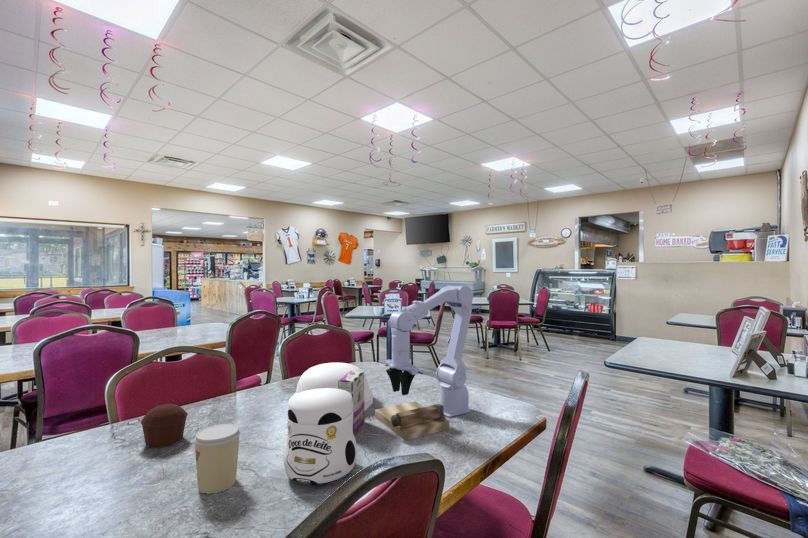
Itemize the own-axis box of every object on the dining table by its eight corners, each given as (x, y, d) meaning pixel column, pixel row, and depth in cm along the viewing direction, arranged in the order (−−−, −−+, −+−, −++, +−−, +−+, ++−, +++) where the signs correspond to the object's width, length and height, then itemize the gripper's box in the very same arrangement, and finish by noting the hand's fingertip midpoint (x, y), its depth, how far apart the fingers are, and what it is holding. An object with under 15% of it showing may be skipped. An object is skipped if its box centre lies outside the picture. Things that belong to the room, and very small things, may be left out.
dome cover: (390, 398, 141) (390, 362, 141) (338, 426, 115) (338, 382, 115) (329, 385, 157) (329, 353, 158) (271, 407, 132) (271, 368, 132)
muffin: (196, 435, 108) (197, 402, 108) (161, 453, 98) (161, 415, 98) (167, 430, 112) (167, 397, 112) (130, 446, 101) (130, 410, 102)
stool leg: (439, 413, 116) (439, 403, 116) (445, 416, 114) (445, 406, 114) (391, 424, 108) (391, 413, 108) (396, 428, 105) (396, 417, 105)
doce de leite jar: (287, 501, 77) (287, 416, 77) (280, 462, 92) (280, 391, 93) (365, 482, 84) (365, 404, 84) (346, 449, 99) (346, 383, 100)
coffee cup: (205, 473, 87) (206, 423, 87) (245, 472, 88) (246, 422, 88) (185, 497, 78) (186, 441, 78) (230, 495, 79) (230, 439, 79)
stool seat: (415, 408, 130) (415, 399, 130) (450, 428, 113) (450, 418, 113) (375, 417, 122) (375, 407, 122) (405, 440, 105) (405, 429, 105)
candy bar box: (350, 420, 119) (350, 370, 120) (364, 421, 118) (364, 371, 119) (337, 435, 108) (337, 379, 109) (353, 436, 107) (353, 380, 108)
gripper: (377, 348, 118) (377, 389, 118) (405, 355, 107) (406, 401, 107) (394, 345, 123) (394, 385, 122) (423, 352, 112) (423, 396, 111)
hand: (400, 392), depth 115 cm, fingers open, 4 cm apart
